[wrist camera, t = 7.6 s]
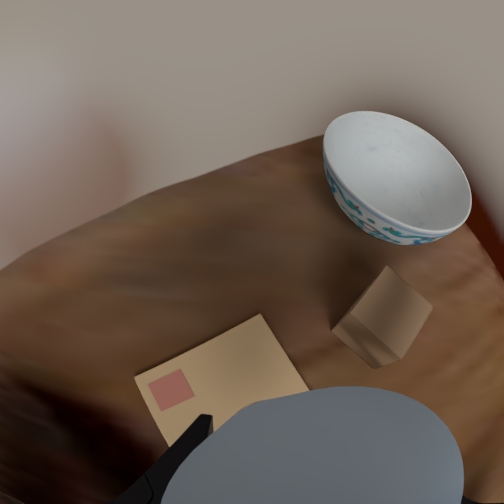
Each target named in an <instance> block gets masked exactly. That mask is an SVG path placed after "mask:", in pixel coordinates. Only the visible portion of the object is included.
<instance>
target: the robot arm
mask: <svg viewBox="0 0 504 504" xmlns="http://www.w3.org/2000/svg"><path fill="white" fill-rule="evenodd" d="M213 431H214V429H213V416H212V415H210V414H200V415H199V416H198V417H197V418H196V419H195V420H194V422H193V423H192V424H191V425H190V426H189V427H188V428H187V429H186V430H185V431H184V433H183V434H182V435H181V436H180V437H179V438H178V439H177V440H176V441H175V442H174V443H173V444H172V445H171V446H170V448H169V449H168V450H167V451H166V452H165V453H164V454H163V455H162V456H161V457H160V458H159V459H158V460H157V461H156V462H155V463H154V464H153V465H152V466H151V467H150V468H149V469H148V470H147V471H146V472H145V474H143V475H142V476H141V477H140V478H139V479H138V480H137V481H136V482H135V483H134V484H133V485H131V486H130V487H129V488H128V489H127V490H126V491H124V492H123V493H122V494H120V495H119V496H118V497H116V498H115V499H113V500H112V501H110V502H109V503H107V504H161V501H162V498H163V495H164V493H165V491H166V488H167V486H168V484H169V482H170V480H171V479H172V477H173V475H174V474H175V472H176V471H177V469H178V468H179V466H180V465H181V464H182V463H183V461H184V460H185V459H186V458H187V457H188V456H189V455H190V453H191V452H192V451H193V450H194V449H195V448H196V447H198V446H199V445H200V444H201V443H202V442H203V441H204V440H205V439H206V438H208V437H209V436H210V435H211V434H212V433H213ZM461 504H504V503H478V502H475V501H472V500H470V499H468V498H466V497H465V496H463V495H462V499H461Z"/></svg>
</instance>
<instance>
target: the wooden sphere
mask: <svg viewBox="0 0 504 504" xmlns="http://www.w3.org/2000/svg"><path fill="white" fill-rule="evenodd" d="M0 504H24V503H22V502H21V501H19V500H17V499H15V498H13V497H11V496H9V495H7V494H4V493H2V492H0Z"/></svg>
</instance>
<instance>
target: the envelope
mask: <svg viewBox="0 0 504 504" xmlns="http://www.w3.org/2000/svg"><path fill="white" fill-rule="evenodd" d="M134 379H135V381H136V383H137V385H138V388H139V390H140V392H141V394H142V396H143V398H144V400H145V402H146V404H147V406H148V408H149V410H150V412H151V414H152V416H153V418H154V420H155V422H156V424H157V426H158V428H159V429H160V431H161V433H162V435H163V437H164V438H165V440H166V442H167V444H168V445H169V447H170V446H171V445H172V444H173V443H174V442H175V441H176V440H177V439H178V438H179V437H180V436H181V435H182V434H183V433H184V431H185V430H186V429H187V428H188V427H189V426H190V425H191V424H192V423H193V422H194V420H195V419H196V418H197V417H198V416H199V415H200V414H210V415H212V416H213V429H214V431H213V432H215V431H216V430H217V429H218V428H219V427H220V426H222V425H223V424H224V423H225V422H226V421H227V420H229V419H230V418H231V417H232V416H233V415H234V414H235V413H236V412H238V411H239V410H240V409H241V408H243V407H245V406H246V405H248V404H251V403H253V402H257V401H261V400H267V399H273V398H278V397H283V396H288V395H293V394H297V393H302V392H306V391H310V390H309V389H308V387H307V386H306V384H305V383H304V381H303V380H302V378H301V377H300V375H299V374H298V372H297V370H296V369H295V367H294V366H293V364H292V363H291V361H290V360H289V358H288V356H287V355H286V353H285V352H284V350H283V349H282V347H281V346H280V344H279V342H278V341H277V339H276V338H275V336H274V334H273V333H272V331H271V330H270V328H269V327H268V325H267V323H266V322H265V320H264V319H263V317H262V315H261V314H258V315H256V316H255V317H253V318H251V319H249V320H247V321H245V322H244V323H242V324H240V325H238V326H236V327H234V328H232V329H231V330H229V331H227V332H225V333H223V334H221V335H219V336H217V337H215V338H213V339H211V340H209V341H208V342H206V343H204V344H202V345H200V346H198V347H196V348H194V349H192V350H190V351H188V352H186V353H184V354H182V355H180V356H178V357H176V358H174V359H172V360H169V361H167V362H165V363H163V364H161V365H159V366H157V367H155V368H153V369H151V370H148V371H146V372H144V373H142V374H140V375H138V376H136V377H134Z"/></svg>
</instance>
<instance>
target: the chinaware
mask: <svg viewBox="0 0 504 504" xmlns="http://www.w3.org/2000/svg"><path fill="white" fill-rule="evenodd" d="M323 160H324V168H325V173H326V177H327V181H328V184H329V187H330V189H331V192H332V194H333V196H334V198H335V200H336V202H337V203H338V205H339V206H340V208H341V209H342V211H343V212H344V213H345V214H346V215H347V217H348V218H349V219H350V220H351V221H352V222H353V223H354V224H356V225H357V226H358V227H359V228H361V229H362V230H363V231H365V232H366V233H368V234H370V235H372V236H374V237H376V238H378V239H380V240H383V241H386V242H390V243H394V244H400V245H418V244H424V243H428V242H432V241H435V240H437V239H440V238H442V237H444V236H446V235H448V234H449V233H451V232H453V231H454V230H456V229H457V228H458V227H460V226H461V225H462V224H463V223H464V222H465V220H466V219H467V217H468V215H469V213H470V210H471V203H472V198H471V191H470V186H469V183H468V181H467V178H466V176H465V174H464V172H463V170H462V168H461V167H460V165H459V164H458V162H457V161H456V159H455V158H454V157H453V156H452V154H451V153H450V152H449V151H448V150H447V149H446V148H445V147H444V146H443V145H442V144H441V143H440V142H439V141H437V140H436V139H435V138H434V137H433V136H431V135H430V134H429V133H427V132H426V131H424V130H423V129H421V128H419V127H417V126H416V125H414V124H412V123H410V122H408V121H405V120H403V119H401V118H398V117H395V116H392V115H389V114H385V113H380V112H373V111H356V112H351V113H346V114H344V115H341V116H339V117H337V118H336V119H335V120H333V121H332V122H331V123H330V124H329V126H328V127H327V129H326V131H325V134H324V139H323Z"/></svg>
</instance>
